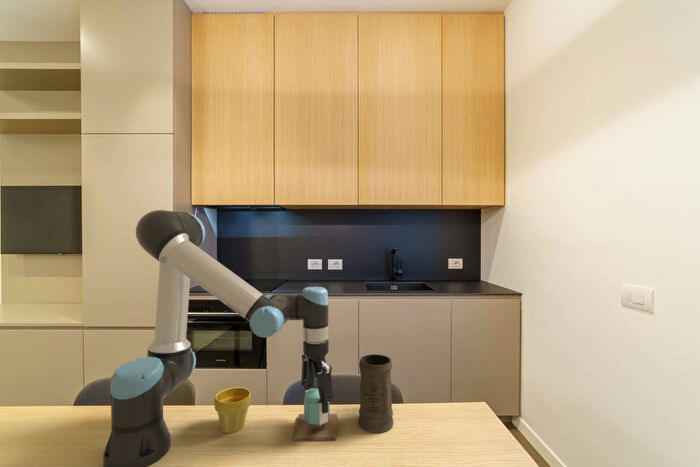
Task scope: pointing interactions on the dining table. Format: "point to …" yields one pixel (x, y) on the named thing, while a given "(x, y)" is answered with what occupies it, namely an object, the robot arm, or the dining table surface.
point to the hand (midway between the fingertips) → (316, 416)
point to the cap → (312, 406)
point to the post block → (315, 430)
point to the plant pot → (232, 408)
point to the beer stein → (375, 394)
